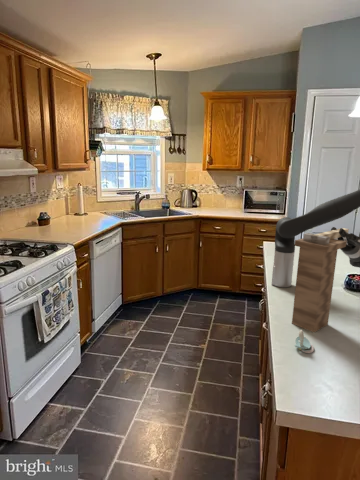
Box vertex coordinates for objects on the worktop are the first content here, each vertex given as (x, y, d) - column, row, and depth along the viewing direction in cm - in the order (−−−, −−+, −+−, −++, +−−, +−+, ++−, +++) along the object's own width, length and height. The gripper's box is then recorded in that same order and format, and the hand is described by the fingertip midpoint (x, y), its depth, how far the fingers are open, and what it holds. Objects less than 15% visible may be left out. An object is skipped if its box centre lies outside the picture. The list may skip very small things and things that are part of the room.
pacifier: (314, 345, 115) (295, 341, 117) (317, 328, 114) (297, 324, 116) (313, 356, 109) (293, 351, 111) (316, 338, 107) (296, 334, 109)
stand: (316, 335, 122) (327, 246, 115) (286, 322, 131) (295, 240, 123) (335, 323, 131) (346, 241, 124) (306, 312, 139) (314, 235, 132)
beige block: (324, 244, 117) (325, 238, 117) (303, 240, 123) (303, 233, 123) (355, 236, 133) (356, 230, 132) (334, 232, 139) (335, 226, 138)
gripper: (337, 235, 147) (322, 218, 136) (372, 241, 137) (359, 223, 126) (331, 251, 146) (315, 235, 135) (365, 258, 136) (352, 242, 125)
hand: (336, 229), depth 130 cm, fingers closed on beige block, 2 cm apart
